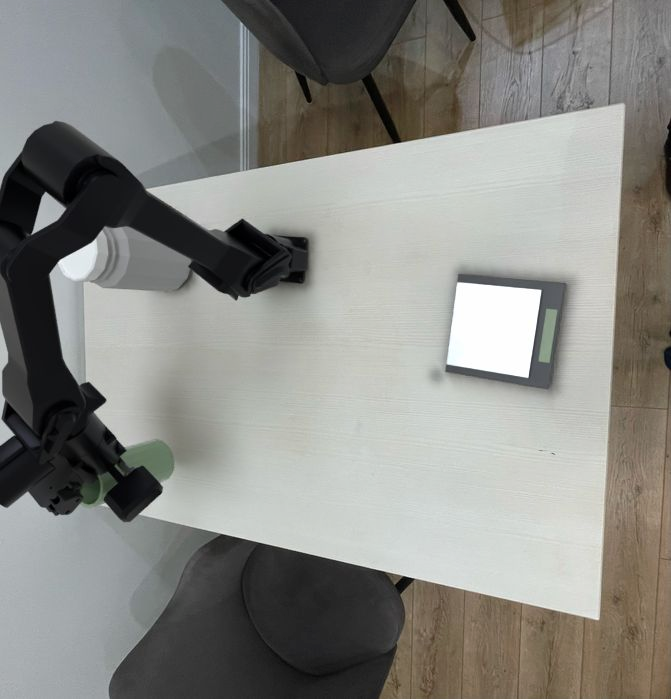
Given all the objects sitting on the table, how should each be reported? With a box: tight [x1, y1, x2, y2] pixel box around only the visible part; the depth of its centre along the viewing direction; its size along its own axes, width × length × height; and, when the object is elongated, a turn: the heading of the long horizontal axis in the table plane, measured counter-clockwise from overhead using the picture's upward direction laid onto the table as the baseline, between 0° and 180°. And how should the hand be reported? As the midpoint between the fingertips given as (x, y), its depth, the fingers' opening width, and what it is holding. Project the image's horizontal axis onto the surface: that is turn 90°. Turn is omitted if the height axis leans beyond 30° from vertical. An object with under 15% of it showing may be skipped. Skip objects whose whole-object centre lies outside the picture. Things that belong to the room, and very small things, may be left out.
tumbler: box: [79, 438, 176, 509], centre depth 78 cm, size 7×7×13 cm
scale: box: [444, 273, 567, 390], centre depth 63 cm, size 12×12×3 cm
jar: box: [57, 227, 193, 293], centre depth 80 cm, size 10×10×18 cm
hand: (120, 478), depth 78 cm, fingers closed on tumbler, 7 cm apart
